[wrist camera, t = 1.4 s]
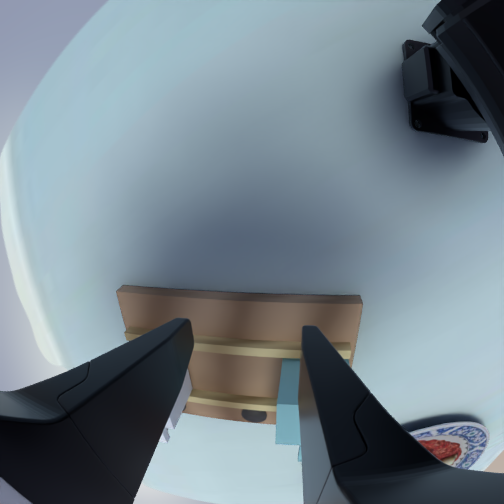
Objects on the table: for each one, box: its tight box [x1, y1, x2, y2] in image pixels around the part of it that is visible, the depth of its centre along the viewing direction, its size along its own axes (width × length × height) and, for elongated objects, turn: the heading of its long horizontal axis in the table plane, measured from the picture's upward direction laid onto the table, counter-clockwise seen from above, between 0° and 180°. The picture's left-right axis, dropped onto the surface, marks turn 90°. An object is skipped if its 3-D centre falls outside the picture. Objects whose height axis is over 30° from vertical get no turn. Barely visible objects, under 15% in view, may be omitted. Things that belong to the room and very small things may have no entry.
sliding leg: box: [276, 358, 350, 461], centre depth 20 cm, size 5×9×5 cm, turn 2°
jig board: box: [116, 285, 363, 424], centre depth 23 cm, size 19×14×2 cm
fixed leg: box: [159, 369, 192, 443], centre depth 22 cm, size 5×9×5 cm, turn 2°
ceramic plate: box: [409, 422, 489, 469], centre depth 27 cm, size 26×26×3 cm
